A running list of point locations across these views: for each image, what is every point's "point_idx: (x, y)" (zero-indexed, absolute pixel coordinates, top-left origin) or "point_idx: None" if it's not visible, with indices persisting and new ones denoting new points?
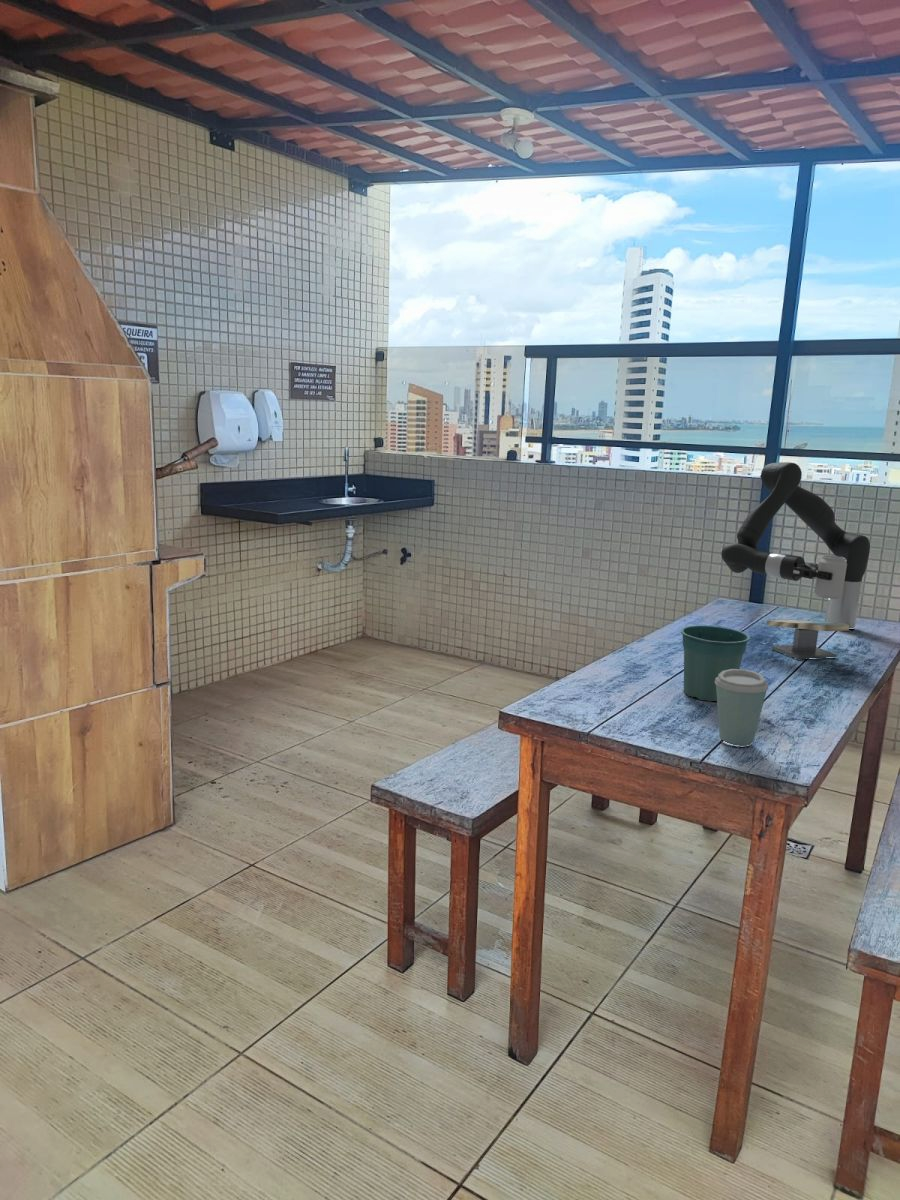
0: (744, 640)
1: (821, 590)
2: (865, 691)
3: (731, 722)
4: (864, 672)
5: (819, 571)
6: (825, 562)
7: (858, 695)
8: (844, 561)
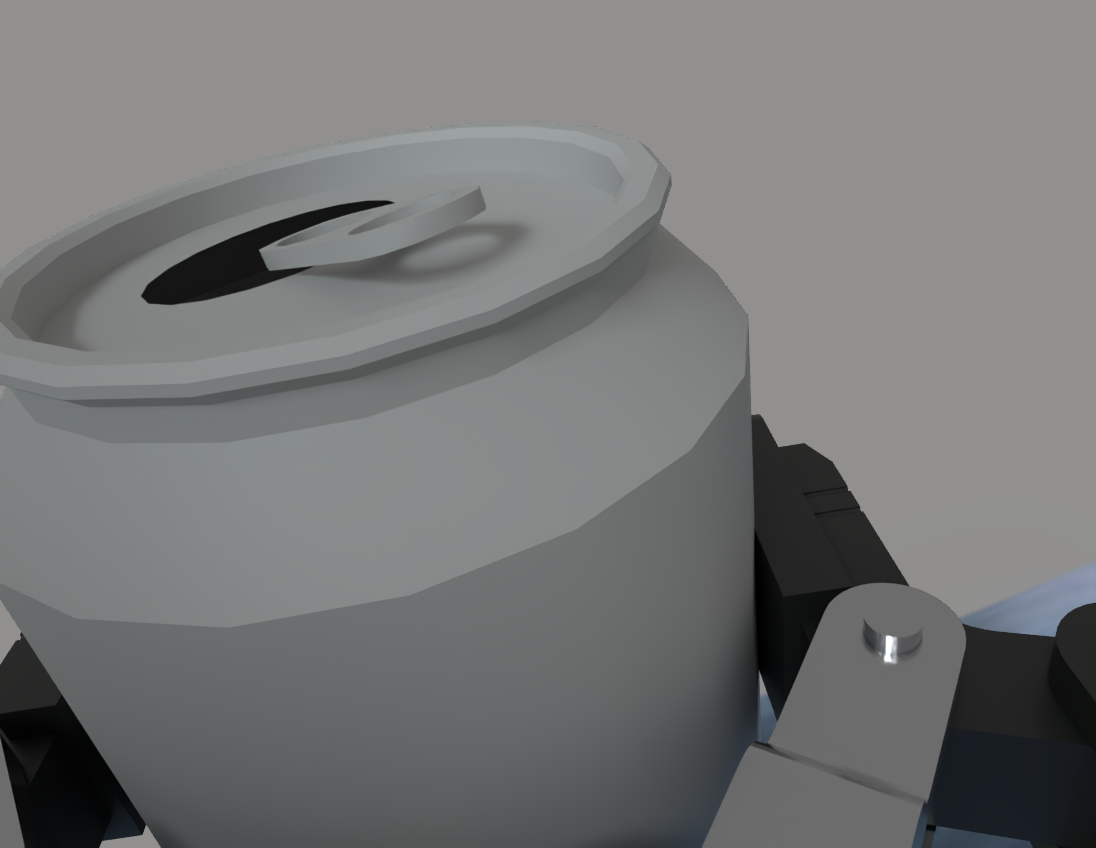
0: None
1: None
2: (983, 610)
3: None
4: None
5: (844, 593)
6: (733, 313)
7: (1085, 587)
8: (352, 204)
